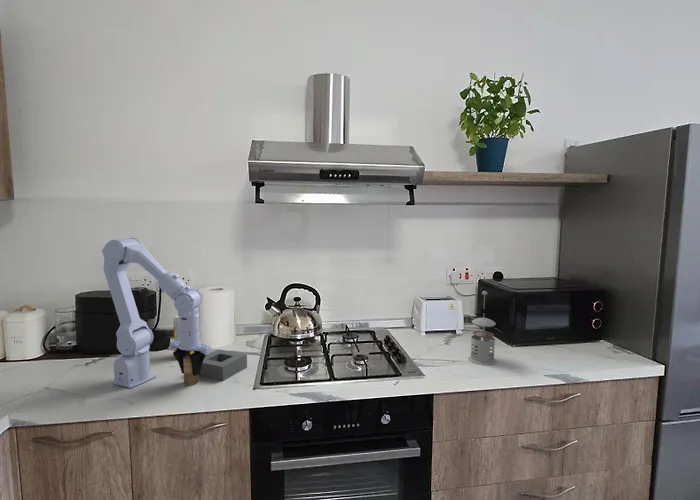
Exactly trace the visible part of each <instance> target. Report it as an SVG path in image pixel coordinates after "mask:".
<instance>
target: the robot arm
mask: <svg viewBox="0 0 700 500" xmlns="http://www.w3.org/2000/svg"><path fill="white" fill-rule="evenodd" d="M101 252H102V255H103V272H104V276H105V279H106V281H107V285H108V289H109V293H110V296H111V298H112V302H113V305H114V308H115V312H116V315H117V318H118V321H119V324H120V325H119V327H118V329H117V331H116V333H115V335H116V338H117V339H116V349H117V350H118V352H120V354H121V356H119V357H117V358H116V359H115V360H114V363H113V372H114V381H113V382H112V385H117V386H121V387H125V388H129V389H132V388H135V387H136V386H137V387H138V386H139V385H141V384H143V383H146V382H148V381H150V380H152V379H155V378H157V376H158V375H156V374H155V373H154V374H153V373H151V370H150V369H151V363H150V362H151V361H150V348H151V347H150V345H152V343H153V341H154V334H153V333H154V332H153V331H152V330H151V329H150V327H149V326H148V323H147V321H145V320H144V319H141V317H140V315H139V311H138V307H137V305H136V301H135V298H134V295H133V292H132V287H131V284H130V281H129V279H128V275H127V271H126V270H127V269H128V267H129V266H130V264H133V263H134V264H138V265H139V266H140V267H142V268H143V269H144V270H145V271H146V272H147V273H149V274H150V275H151V276H152V277H154V279H156V280H157V286H158V288H160V289H161V291H163V292H164V293H165V294H166V295H167V296H168V297H169V298H170V299H171V300H172V301H173V306H174V308H175V309H176V310H177V315H178V316H179V338H180V341H175V340H174V339H173V340H172V341H170V342H169V349H175V348H176V349H177V350H176V351H175V350H174V351H173V352H172V356H174V357H175V359H176V361H177V363H178V365H179V368H180V372H181V374H183V375H184V365H183V358H184V357H186V356H189V358H190V360H191V363H192V371H193V376H196V375H198V374H200V371H201V366H202V363H203V360H204V358H205V356H206V355H207V354H210V353H212V348H211V347H212V346H210V345H206V344H204V343H202V340H200V339H201V337H200V335H201V334H200V309H199V307H200V305H201V304H202V302H203V297H202V294H201V293H200V292H199V290H198V289H196V288H191V286H190V285H187V284H186V283H185V282H184V281H182V280H181V278H180V275H179V274H178V273H176V274H175V273H174V272H168V271H167V270H166V269H165V268H164V267H163V266H162V265H161V264H160V263H159V262H158V261H157V260H156V258H154V256H153V255H152V254H151V253H150V252H149V251H148V248H147V245H145V244H143V243H142V242H141V241H140V239H138V238H137V237H129V238H122V239H111V240H109V241H107V242H106V243H105V245H104V247H103V248H102V250H101ZM191 351H193V353H192V354H190V352H191Z"/></svg>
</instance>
